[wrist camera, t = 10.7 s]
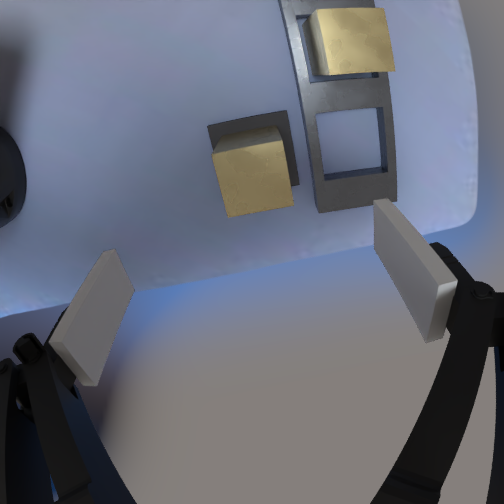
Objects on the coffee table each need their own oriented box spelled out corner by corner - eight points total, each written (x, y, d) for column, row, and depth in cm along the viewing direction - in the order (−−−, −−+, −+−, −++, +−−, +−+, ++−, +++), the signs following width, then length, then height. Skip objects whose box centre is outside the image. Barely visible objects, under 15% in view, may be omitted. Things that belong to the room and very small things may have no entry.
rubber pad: (225, 196, 35) (225, 198, 34) (208, 125, 31) (207, 126, 30) (298, 183, 34) (299, 184, 33) (286, 110, 30) (286, 110, 29)
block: (312, 75, 28) (329, 75, 21) (301, 24, 25) (316, 9, 18) (364, 70, 27) (395, 71, 20) (354, 21, 24) (383, 8, 17)
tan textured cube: (234, 185, 33) (228, 217, 26) (221, 135, 31) (211, 154, 24) (285, 175, 33) (294, 205, 26) (276, 124, 30) (282, 140, 23)
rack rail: (315, 206, 35) (318, 213, 33) (275, -10, 23) (276, -15, 21) (390, 194, 34) (397, 201, 32) (362, -15, 22) (368, -19, 20)
